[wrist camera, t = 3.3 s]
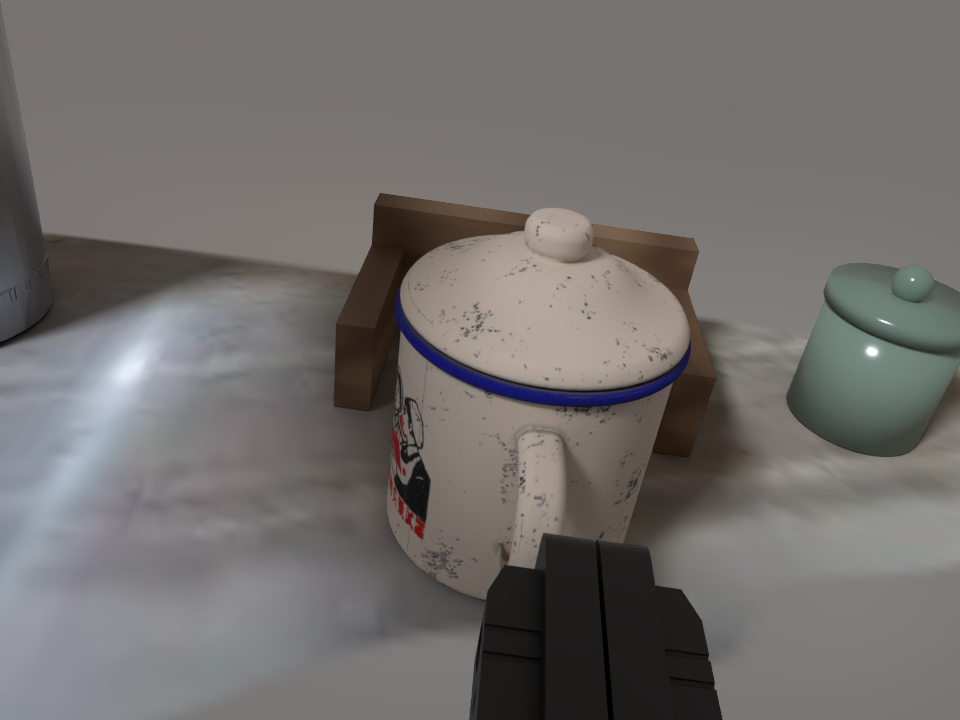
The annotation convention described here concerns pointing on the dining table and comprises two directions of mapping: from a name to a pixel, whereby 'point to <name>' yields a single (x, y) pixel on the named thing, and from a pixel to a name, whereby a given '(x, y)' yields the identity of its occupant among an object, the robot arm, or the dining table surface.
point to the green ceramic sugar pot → (877, 358)
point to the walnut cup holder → (430, 224)
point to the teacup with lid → (525, 396)
